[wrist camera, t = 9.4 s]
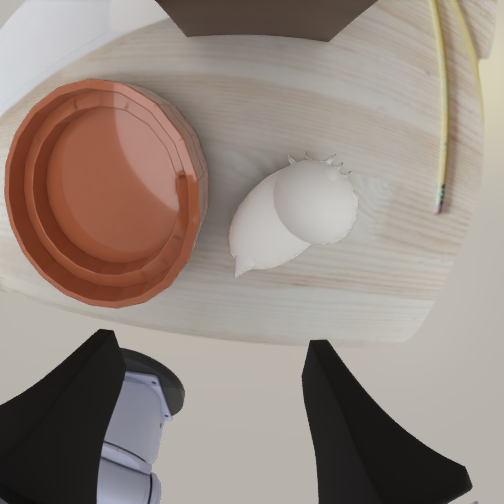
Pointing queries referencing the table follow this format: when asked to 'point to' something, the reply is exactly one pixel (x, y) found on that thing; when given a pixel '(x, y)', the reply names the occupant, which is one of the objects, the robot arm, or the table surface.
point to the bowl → (106, 191)
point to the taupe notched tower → (265, 16)
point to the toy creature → (292, 214)
